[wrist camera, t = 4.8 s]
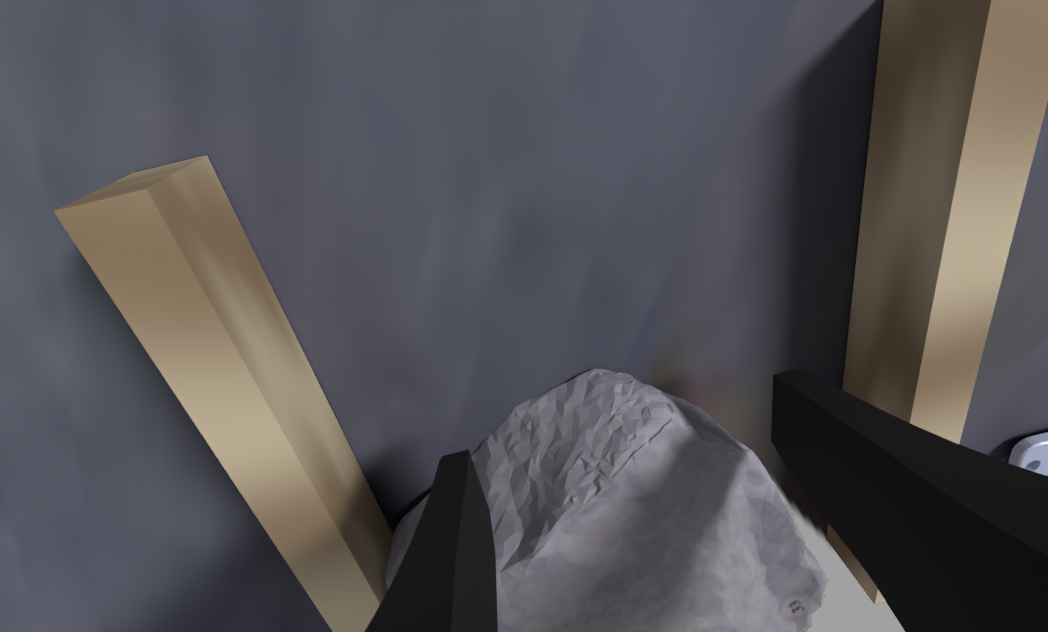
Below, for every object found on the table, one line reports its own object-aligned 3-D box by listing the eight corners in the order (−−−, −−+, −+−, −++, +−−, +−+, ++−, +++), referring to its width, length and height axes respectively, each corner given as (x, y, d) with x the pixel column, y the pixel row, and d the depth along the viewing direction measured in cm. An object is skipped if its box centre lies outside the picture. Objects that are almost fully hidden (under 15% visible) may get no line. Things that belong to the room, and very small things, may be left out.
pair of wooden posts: (866, 528, 19) (920, 592, 17) (400, 645, 19) (395, 726, 17) (956, -25, 11) (1083, -37, 9) (132, 172, 11) (53, 211, 9)
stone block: (592, 297, 16) (355, 538, 16) (685, 373, 11) (360, 696, 12) (774, 486, 21) (593, 661, 22) (884, 585, 17) (654, 799, 17)
